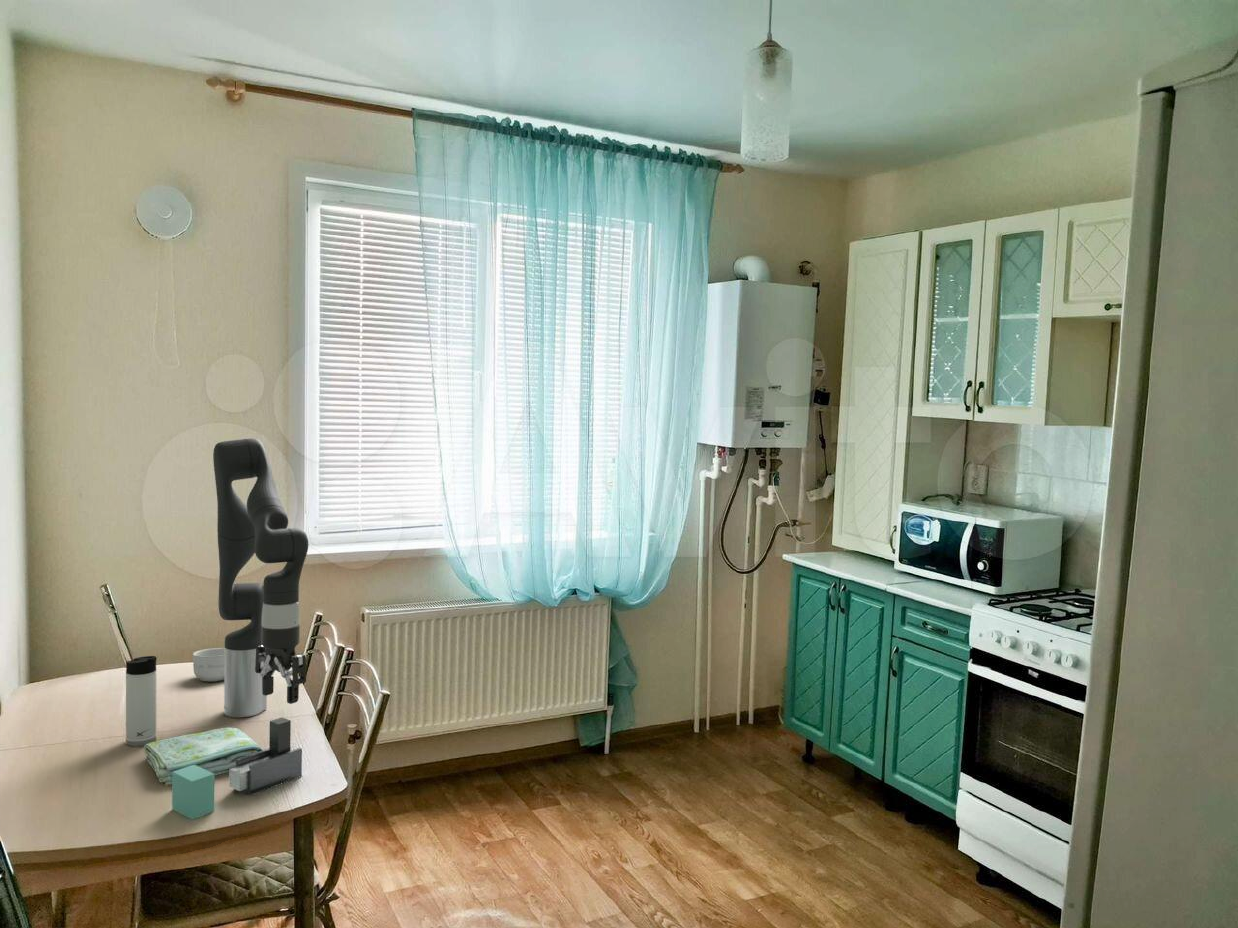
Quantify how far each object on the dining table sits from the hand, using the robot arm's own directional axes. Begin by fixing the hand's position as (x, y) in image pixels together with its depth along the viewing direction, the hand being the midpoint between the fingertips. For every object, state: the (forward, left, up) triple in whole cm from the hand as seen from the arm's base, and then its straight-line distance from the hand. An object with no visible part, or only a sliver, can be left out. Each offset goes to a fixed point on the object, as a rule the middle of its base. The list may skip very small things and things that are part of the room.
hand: (280, 698), depth 189 cm
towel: (+5, -20, -18) cm, 28 cm away
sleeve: (+2, 0, -17) cm, 18 cm away
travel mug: (+7, -42, -18) cm, 46 cm away
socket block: (+19, 0, -17) cm, 26 cm away
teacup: (-30, -71, -18) cm, 78 cm away
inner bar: (+3, 0, -16) cm, 16 cm away
